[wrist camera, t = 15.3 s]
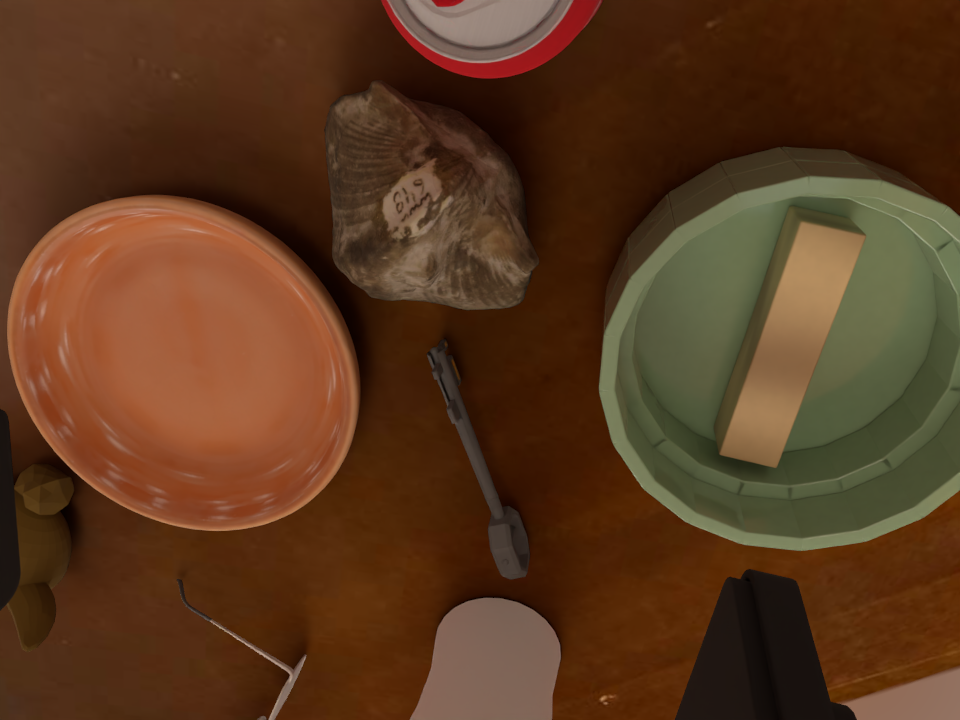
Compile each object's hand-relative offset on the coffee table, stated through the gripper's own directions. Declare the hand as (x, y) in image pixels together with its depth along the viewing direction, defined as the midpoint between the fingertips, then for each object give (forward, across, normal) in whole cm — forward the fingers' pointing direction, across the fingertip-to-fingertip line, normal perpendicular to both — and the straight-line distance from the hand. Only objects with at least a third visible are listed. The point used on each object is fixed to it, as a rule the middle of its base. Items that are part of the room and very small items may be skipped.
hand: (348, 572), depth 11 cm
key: (+26, 0, +13) cm, 30 cm away
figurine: (+26, +22, +24) cm, 41 cm away
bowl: (+26, -11, +4) cm, 29 cm away
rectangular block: (+26, -11, +5) cm, 28 cm away
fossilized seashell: (+26, +4, +2) cm, 27 cm away
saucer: (+26, +14, +12) cm, 32 cm away
